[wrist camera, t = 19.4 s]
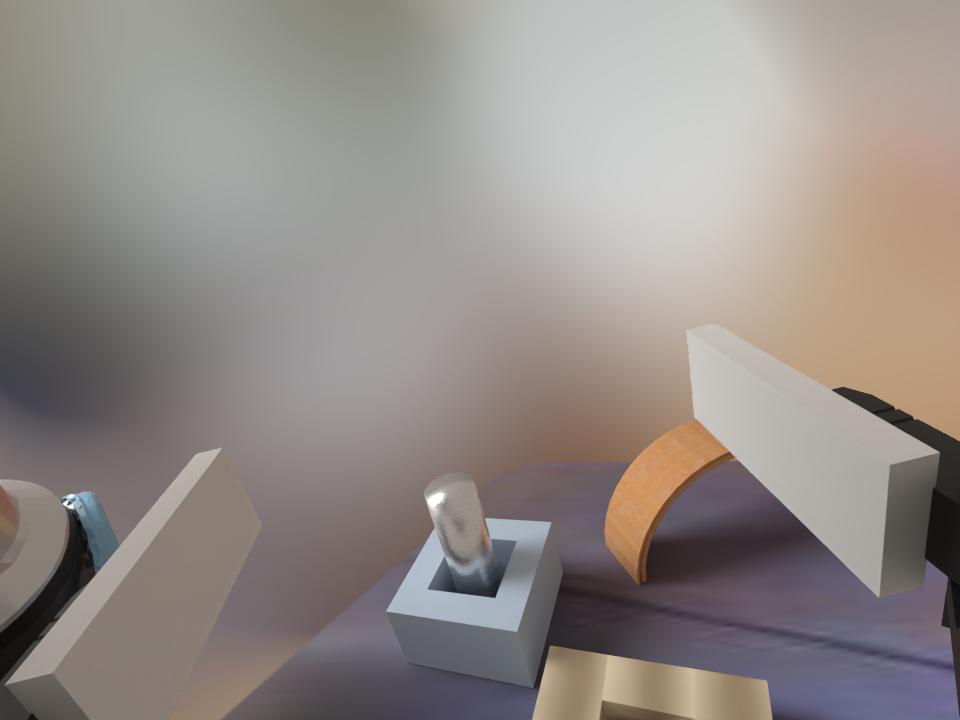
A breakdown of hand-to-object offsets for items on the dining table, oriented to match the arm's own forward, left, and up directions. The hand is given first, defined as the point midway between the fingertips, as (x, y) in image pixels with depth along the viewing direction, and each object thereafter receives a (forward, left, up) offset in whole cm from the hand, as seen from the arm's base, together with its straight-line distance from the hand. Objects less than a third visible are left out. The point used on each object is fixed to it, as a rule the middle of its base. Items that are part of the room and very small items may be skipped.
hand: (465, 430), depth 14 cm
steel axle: (-13, +17, -30) cm, 37 cm away
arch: (+6, +30, -30) cm, 43 cm away
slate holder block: (-13, +17, -30) cm, 37 cm away
